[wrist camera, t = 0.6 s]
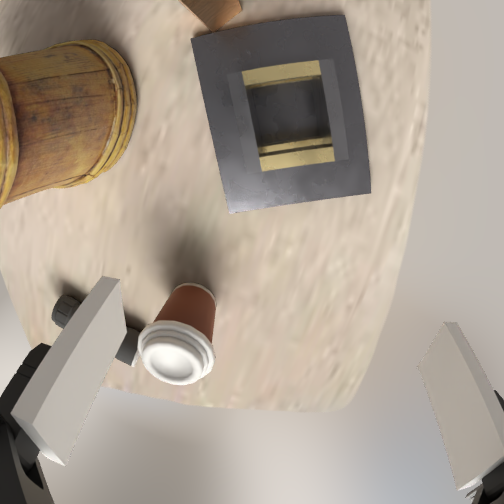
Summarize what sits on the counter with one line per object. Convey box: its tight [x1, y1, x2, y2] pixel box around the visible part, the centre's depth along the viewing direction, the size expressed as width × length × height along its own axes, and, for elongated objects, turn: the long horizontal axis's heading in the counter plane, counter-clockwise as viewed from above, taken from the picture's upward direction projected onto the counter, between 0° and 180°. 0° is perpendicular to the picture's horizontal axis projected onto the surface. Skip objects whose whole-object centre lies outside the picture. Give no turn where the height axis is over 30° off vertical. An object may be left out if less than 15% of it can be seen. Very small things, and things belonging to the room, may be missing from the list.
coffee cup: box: [138, 283, 217, 385], centre depth 38 cm, size 9×9×12 cm
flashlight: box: [52, 295, 140, 367], centre depth 44 cm, size 15×5×5 cm, turn 64°
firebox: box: [191, 15, 371, 214], centre depth 27 cm, size 20×16×9 cm
